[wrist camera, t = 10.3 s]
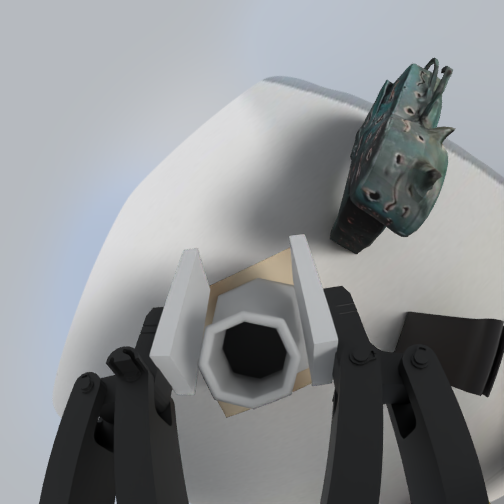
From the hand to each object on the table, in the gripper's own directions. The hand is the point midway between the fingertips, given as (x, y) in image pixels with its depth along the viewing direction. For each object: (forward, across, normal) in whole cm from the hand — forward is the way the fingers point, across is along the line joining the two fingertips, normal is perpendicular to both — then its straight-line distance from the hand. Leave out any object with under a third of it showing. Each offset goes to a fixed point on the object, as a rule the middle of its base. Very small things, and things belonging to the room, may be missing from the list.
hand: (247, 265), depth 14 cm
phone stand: (+3, +18, -17) cm, 25 cm away
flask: (+1, 0, -6) cm, 6 cm away
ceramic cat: (+17, +13, -3) cm, 22 cm away
